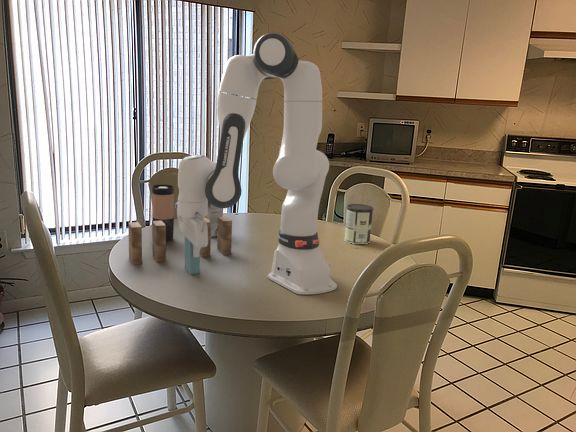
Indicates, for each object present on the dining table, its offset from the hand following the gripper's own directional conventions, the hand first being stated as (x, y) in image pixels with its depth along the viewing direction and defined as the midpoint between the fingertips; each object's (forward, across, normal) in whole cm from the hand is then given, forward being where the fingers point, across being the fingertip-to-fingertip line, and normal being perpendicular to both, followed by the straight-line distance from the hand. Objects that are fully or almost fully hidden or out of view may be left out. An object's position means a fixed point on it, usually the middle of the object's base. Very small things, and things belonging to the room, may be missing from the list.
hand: (192, 252), depth 146 cm
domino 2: (+6, 0, 0) cm, 6 cm away
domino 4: (+6, +14, -16) cm, 22 cm away
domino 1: (+6, +14, +7) cm, 17 cm away
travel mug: (+6, +34, +1) cm, 35 cm away
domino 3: (+6, +14, -8) cm, 17 cm away
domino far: (+6, +14, +14) cm, 21 cm away
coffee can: (+6, +11, -70) cm, 71 cm away
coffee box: (+6, +37, -18) cm, 42 cm away
